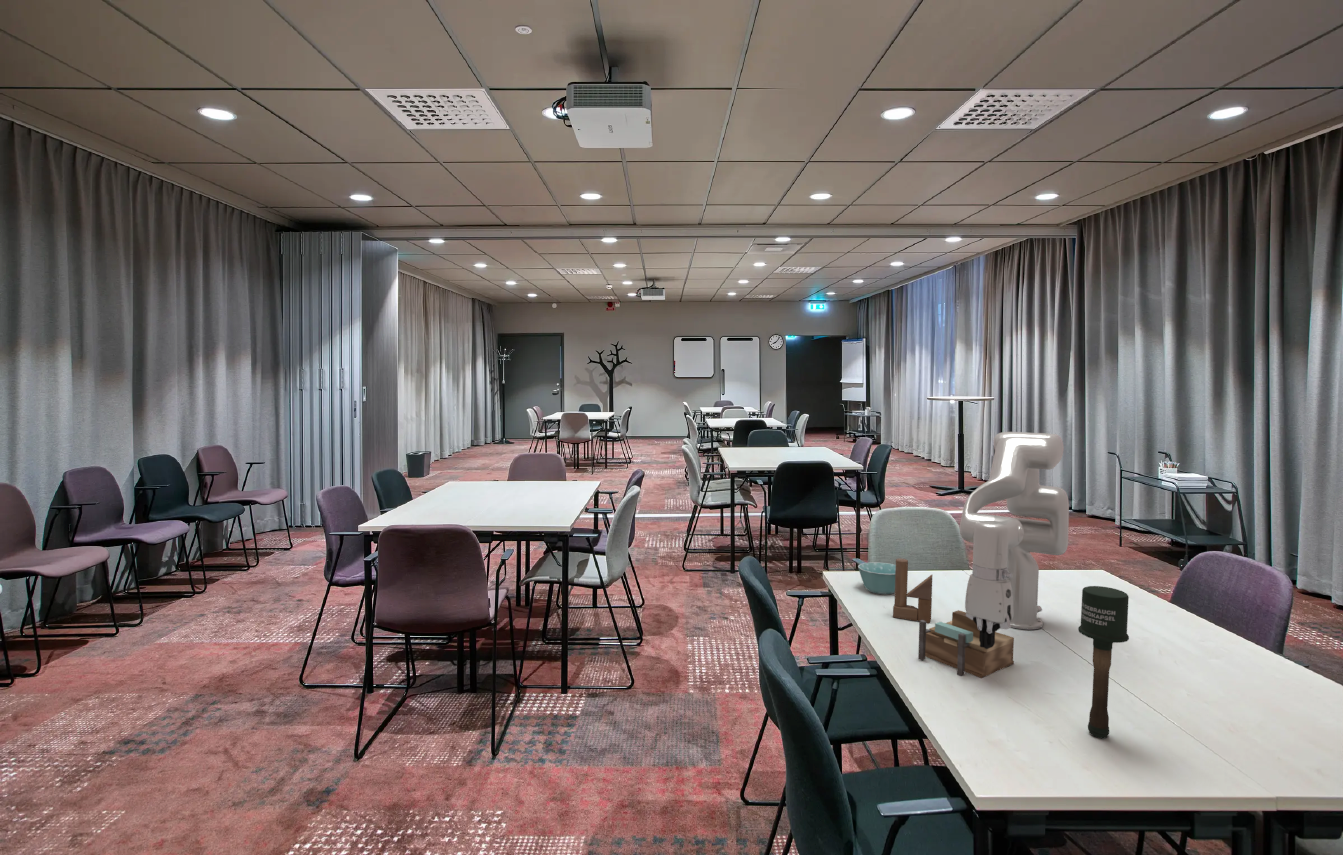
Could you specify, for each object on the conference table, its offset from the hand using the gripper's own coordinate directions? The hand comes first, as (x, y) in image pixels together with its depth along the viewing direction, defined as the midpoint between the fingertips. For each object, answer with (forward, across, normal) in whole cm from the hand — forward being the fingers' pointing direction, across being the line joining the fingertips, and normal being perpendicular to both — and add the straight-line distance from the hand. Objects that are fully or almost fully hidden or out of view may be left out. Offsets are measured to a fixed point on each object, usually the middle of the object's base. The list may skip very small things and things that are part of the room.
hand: (986, 646), depth 161 cm
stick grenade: (+8, -27, +6) cm, 29 cm away
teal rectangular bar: (0, +9, 0) cm, 9 cm away
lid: (+3, +9, -6) cm, 11 cm away
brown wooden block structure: (+8, +36, -21) cm, 42 cm away
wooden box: (+8, +9, -6) cm, 13 cm away
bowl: (+8, +59, -36) cm, 70 cm away
